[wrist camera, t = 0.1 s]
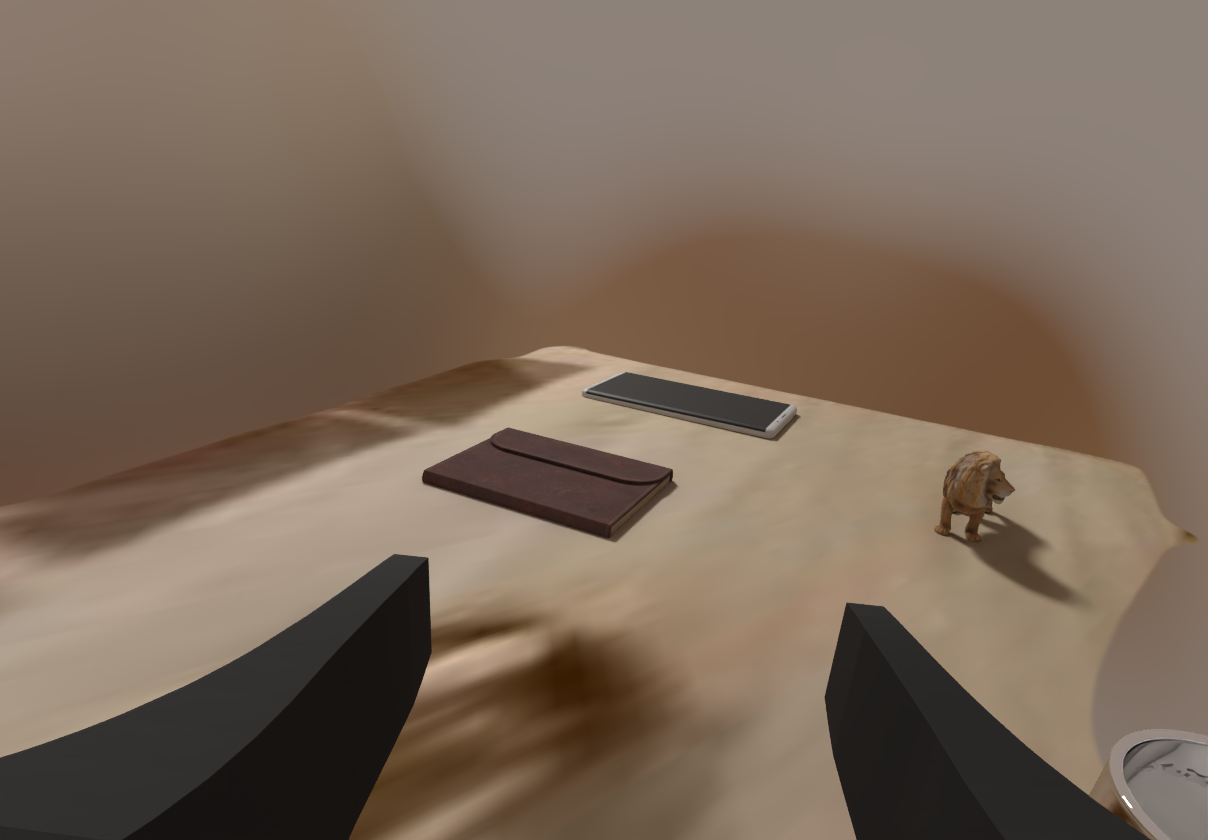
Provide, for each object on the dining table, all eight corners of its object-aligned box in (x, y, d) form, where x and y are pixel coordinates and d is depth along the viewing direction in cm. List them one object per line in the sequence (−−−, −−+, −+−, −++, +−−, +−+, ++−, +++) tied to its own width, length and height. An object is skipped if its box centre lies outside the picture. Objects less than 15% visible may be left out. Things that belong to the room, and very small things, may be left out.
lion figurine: (995, 564, 63) (1023, 467, 60) (929, 547, 65) (952, 453, 62) (992, 504, 75) (1014, 422, 73) (937, 491, 78) (956, 411, 75)
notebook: (608, 543, 62) (610, 522, 61) (422, 486, 70) (422, 466, 69) (671, 485, 75) (673, 467, 74) (508, 442, 82) (509, 425, 82)
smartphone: (621, 381, 112) (622, 370, 111) (797, 416, 101) (798, 404, 100) (579, 400, 100) (579, 388, 100) (771, 443, 89) (773, 430, 89)
